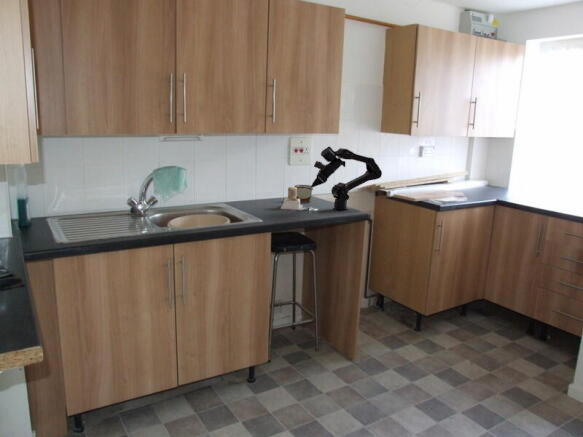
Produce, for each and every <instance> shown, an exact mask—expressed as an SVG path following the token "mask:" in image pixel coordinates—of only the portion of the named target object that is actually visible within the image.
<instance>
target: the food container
mask: <svg viewBox="0 0 583 437" xmlns="http://www.w3.org/2000/svg"><path fill="white" fill-rule="evenodd" d="M293 187H297V197H296V199H300V203H306V204H310V203H311V200H312V194H313V193H312V192H313V190H314V187H311V185H309V184H294V186H293Z"/></svg>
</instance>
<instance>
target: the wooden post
mask: <svg viewBox="0 0 583 437" xmlns="http://www.w3.org/2000/svg"><path fill="white" fill-rule="evenodd" d="M296 197H297V187H294V186H289V187H288V188H287V198H288V201H297V200H296Z"/></svg>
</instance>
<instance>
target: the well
mask: <svg viewBox="0 0 583 437" xmlns="http://www.w3.org/2000/svg"><path fill="white" fill-rule="evenodd" d="M296 200H297V201H288V197H286V198H284V200H283V204H282V205H281V207H280V210H293V211H296V210H297V211H302V210H303V208H304V204H301V202H300V199H296Z"/></svg>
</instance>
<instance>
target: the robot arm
mask: <svg viewBox="0 0 583 437" xmlns="http://www.w3.org/2000/svg"><path fill="white" fill-rule="evenodd" d="M320 156H321V157H322V158H323V160H325V161H327V162H328V163H326V164H324V163H322V162H321V161H319V160H316V161H315V162H314V165H313V167H314V168H317V169H319V170H318V171H317V174H316V178H315V179H314V180H313V182H312V183H311V185H310V186H311V187H313V188H314V187H318V186H320V185H323V184H325V183H327V182H328V179H329V178H330V177H331V176H332V175H333V174H335V172H336V171H337V170H338V169H339V168H340V167H341V166H342V167H344V168H346V161H345V160H350V161H351V160H352V161H356V162H360V163H363V164H365V169H366V171H365V172H364V173H363V174H361V175H360V176H357V177H356V178H353V179H351V180H350V181H348V182H346V183H344V182H338V183H336V184H334V185H333V186H332V188H331V194H332V197H333V199H334V202H333V204H334V205H333V206H334V207H332V209H333V210H336V211H339V212H340V211H349V208H348V207H347V204H348V202H347V201H349V200H350V195H349V194H348V193H349V192H350V191H351V190H353V189H355V188H357V187H359V186H361V185H363V184H366V183H367V182H368V181H375V180H378V179H381V178H382V176H383V173H382V170H381V168H380V167H379V165H378V164H377V163H376V160H375V159H374V157H371V156H370V157H369V156H366V155H362V154H358V153H355V152H353V151H352V150H349V149H348V148H343V147H340V148H338V150H335V151H334V149H332V147H331V146H327V147H326V148H324V149H323V150H322V151H321V153H320Z"/></svg>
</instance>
